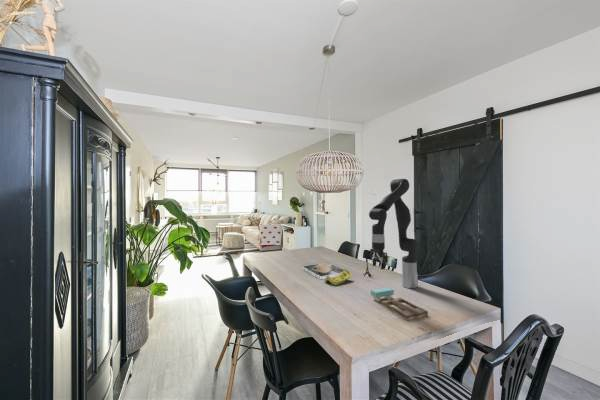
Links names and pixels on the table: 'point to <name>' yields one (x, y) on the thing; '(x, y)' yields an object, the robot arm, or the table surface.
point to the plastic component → (339, 277)
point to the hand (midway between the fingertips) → (378, 267)
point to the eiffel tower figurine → (368, 271)
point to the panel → (382, 293)
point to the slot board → (404, 308)
